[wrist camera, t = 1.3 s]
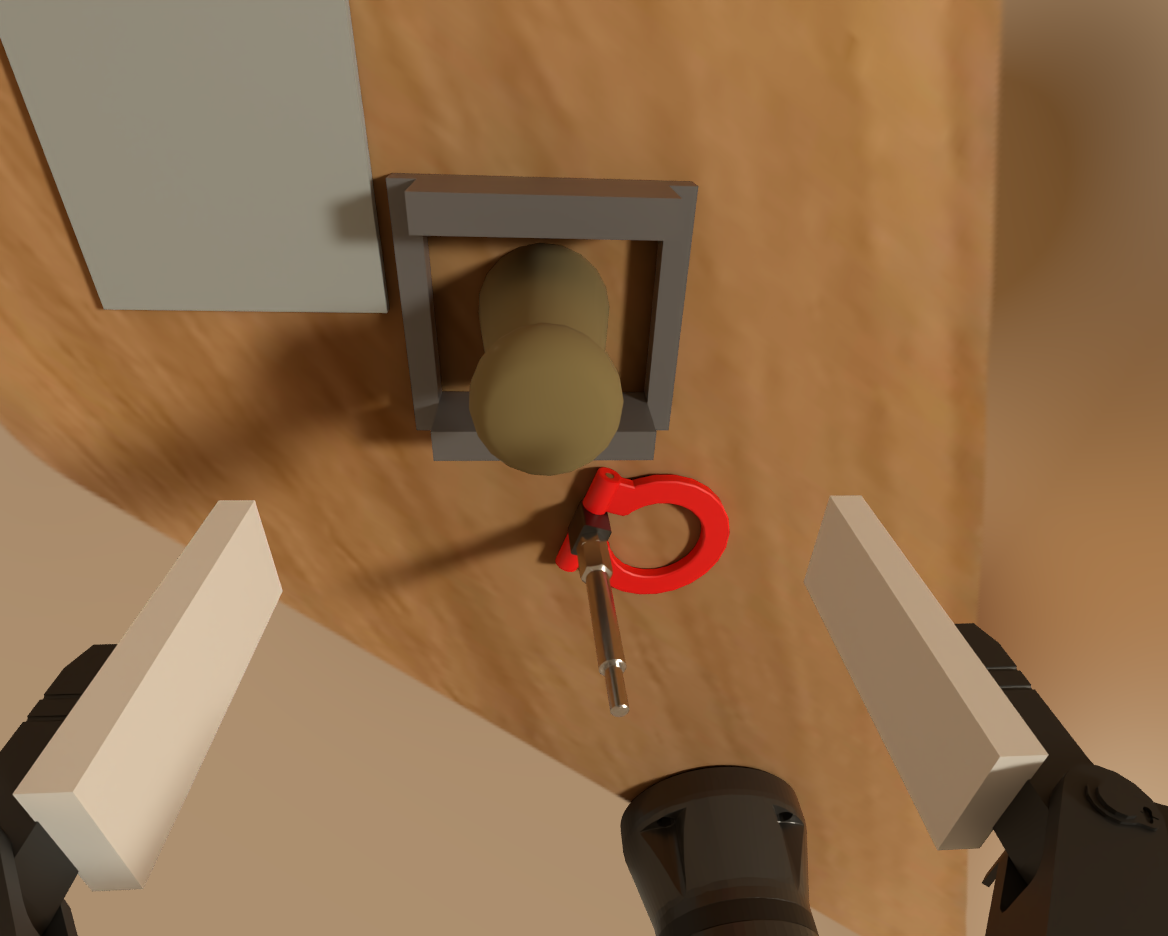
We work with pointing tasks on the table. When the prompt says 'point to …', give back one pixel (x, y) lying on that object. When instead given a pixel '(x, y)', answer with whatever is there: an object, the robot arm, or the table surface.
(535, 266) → the cork
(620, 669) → the tow hook
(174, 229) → the mat
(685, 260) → the grey square frame
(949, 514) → the table surface
